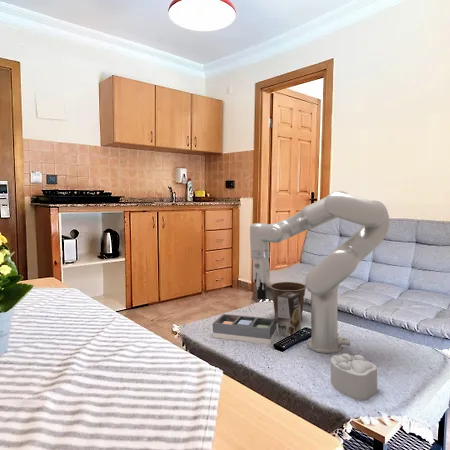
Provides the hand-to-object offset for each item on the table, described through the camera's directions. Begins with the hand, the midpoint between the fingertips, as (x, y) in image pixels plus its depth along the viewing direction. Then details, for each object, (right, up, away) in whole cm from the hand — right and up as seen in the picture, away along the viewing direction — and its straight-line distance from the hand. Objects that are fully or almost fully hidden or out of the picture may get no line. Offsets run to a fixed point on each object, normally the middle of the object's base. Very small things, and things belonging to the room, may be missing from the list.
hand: (261, 298), depth 142 cm
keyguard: (-7, -14, +3) cm, 16 cm away
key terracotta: (-14, -14, +6) cm, 21 cm away
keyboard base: (-7, -16, +4) cm, 17 cm away
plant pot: (+14, -14, +19) cm, 28 cm away
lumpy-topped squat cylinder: (+23, -19, -37) cm, 48 cm away
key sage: (0, -14, +1) cm, 14 cm away
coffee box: (+12, -15, +5) cm, 20 cm away
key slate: (-7, -13, +3) cm, 15 cm away
